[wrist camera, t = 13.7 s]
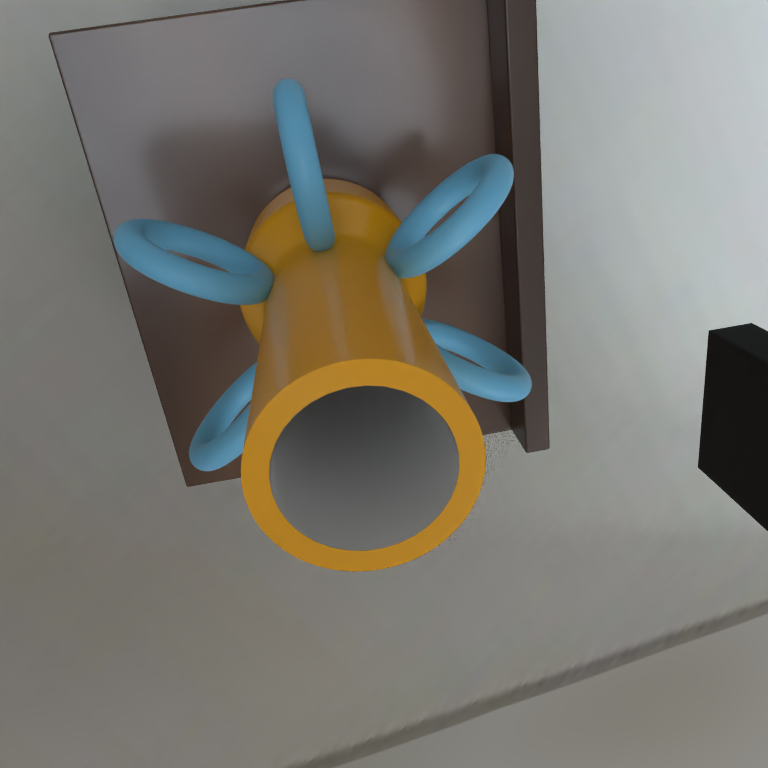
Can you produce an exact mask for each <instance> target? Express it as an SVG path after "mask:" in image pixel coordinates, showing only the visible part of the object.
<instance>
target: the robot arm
mask: <svg viewBox="0 0 768 768" xmlns="http://www.w3.org/2000/svg"><path fill="white" fill-rule="evenodd" d="M698 468H699V469H700V470H702V471H703V472H704V473H705V474H706V475H707V476H708V477H709V478H710V479H711V480H712V481H714V482H715V483H716V484H717V485H718V486H719V487H720V488H721V489H722V490H723V491H724V492H726V493H727V494H728V495H729V496H730V497H731V498H732V499H733V500H734V501H735V502H736V503H738V504H739V505H740V506H741V507H742V508H743V509H744V510H745V511H746V512H747V513H748V514H750V515H751V516H752V517H753V518H754V519H755V520H756V521H757V522H758V523H759V524H760V525H762V526H763V527H764V528H765V529H766V530H767V531H768V331H766V330H764V329H762V328H760V327H758V326H756V325H754V324H752V323H750V324H744V325H738V326H733V327H727V328H721V329H716V330H710V331H709V335H708V348H707V360H706V373H705V385H704V398H703V411H702V423H701V436H700V448H699V461H698Z"/></svg>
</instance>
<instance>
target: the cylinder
mask: <svg viewBox="0 0 768 768" xmlns="http://www.w3.org/2000/svg"><path fill="white" fill-rule="evenodd" d="M273 104H274V110H275V116H276V121H277V126H278V131H279V136H280V141H281V145H282V150H283V155H284V159H285V164H286V168H287V172H288V177H289V181H290V185H291V188H289V189H287V190H285V191H283V192H282V193H280V194H279V195H278V196H276V197H275V198H274V199H273V200H272V201H271V202H270V203H269V204H268V205H267V206H266V207H265V208H264V210H263V211H262V212H261V214H260V215H259V217H258V218H257V220H256V222H255V224H254V226H253V228H252V230H251V232H250V235H249V238H248V241H247V244H246V246H245V249H242V248H240V247H238V246H236V245H234V244H232V243H230V242H228V241H225V240H223V239H221V238H218V237H216V236H213V235H211V234H208V233H205V232H202V231H199V230H196V229H193V228H190V227H187V226H183V225H179V224H175V223H171V222H166V221H161V220H153V219H133V220H129V221H126V222H124V223H122V224H121V225H119V226H118V228H117V229H116V231H115V233H114V238H113V240H114V246H115V248H116V250H117V252H118V254H119V255H120V256H121V257H122V259H123V260H124V261H125V262H127V263H128V264H129V265H130V266H131V267H133V268H134V269H136V270H137V271H139V272H140V273H142V274H144V275H145V276H147V277H149V278H151V279H153V280H155V281H157V282H159V283H161V284H163V285H166V286H168V287H170V288H173V289H175V290H178V291H181V292H184V293H187V294H190V295H193V296H196V297H199V298H203V299H207V300H211V301H216V302H221V303H227V304H235V305H240V307H241V311H242V314H243V317H244V319H245V322H246V324H247V326H248V328H249V330H250V331H251V333H252V335H253V336H254V338H255V339H256V340H257V342H258V343H259V344H260V346H259V352H258V359H257V362H256V363H255V364H253V365H252V366H251V367H250V368H249V369H247V370H246V371H245V372H244V373H243V374H242V375H241V376H240V377H239V378H238V379H237V380H236V381H235V382H234V383H233V384H232V385H231V386H230V387H229V388H228V389H227V390H226V391H225V392H224V394H223V395H222V396H221V397H220V398H219V399H218V401H217V402H216V403H215V404H214V406H213V407H212V408H211V410H210V411H209V412H208V414H207V415H206V417H205V418H204V419H203V421H202V423H201V424H200V426H199V427H198V429H197V431H196V433H195V435H194V437H193V439H192V442H191V445H190V449H189V458H190V461H191V463H192V464H193V466H194V467H196V468H197V469H199V470H202V471H213V470H216V469H219V468H221V467H223V466H225V465H227V464H228V463H230V462H231V461H233V460H234V459H235V458H237V457H238V456H239V455H240V454H242V453H243V454H242V461H241V482H242V488H243V493H244V497H245V500H246V503H247V505H248V508H249V510H250V512H251V514H252V516H253V518H254V519H255V521H256V522H257V524H258V525H259V527H260V528H261V529H262V530H263V532H264V533H265V534H266V535H267V536H268V537H269V538H270V539H271V540H272V541H273V542H274V543H275V544H277V545H278V546H279V547H281V548H282V549H283V550H285V551H286V552H288V553H289V554H291V555H293V556H295V557H297V558H299V559H301V560H303V561H305V562H308V563H310V564H313V565H316V566H320V567H324V568H328V569H333V570H340V571H372V570H379V569H385V568H389V567H393V566H397V565H400V564H403V563H406V562H408V561H411V560H413V559H415V558H417V557H420V556H421V555H423V554H425V553H427V552H429V551H430V550H432V549H433V548H435V547H436V546H438V545H439V544H441V543H442V542H443V541H444V540H446V539H447V538H448V537H449V536H450V535H451V534H452V533H453V532H454V531H455V530H456V529H457V528H458V527H459V526H460V525H461V523H462V522H463V521H464V520H465V518H466V517H467V516H468V514H469V512H470V511H471V509H472V507H473V506H474V504H475V502H476V500H477V498H478V495H479V493H480V490H481V487H482V483H483V479H484V474H485V465H486V453H485V444H484V439H483V435H482V431H481V429H480V426H479V423H478V421H477V419H476V417H475V415H474V413H473V412H472V410H471V408H470V406H469V404H468V402H467V401H466V399H465V397H464V395H463V393H462V391H461V390H463V391H466V392H468V393H471V394H474V395H476V396H479V397H483V398H486V399H490V400H494V401H500V402H516V401H519V400H522V399H524V398H525V397H526V396H527V395H528V394H529V392H530V390H531V387H532V381H531V377H530V375H529V373H528V372H527V370H526V369H525V368H524V367H523V366H522V365H521V364H520V363H519V362H518V361H517V360H515V359H514V358H513V357H511V356H510V355H509V354H507V353H506V352H504V351H503V350H501V349H499V348H498V347H496V346H494V345H492V344H491V343H489V342H487V341H485V340H483V339H481V338H479V337H477V336H475V335H473V334H471V333H468V332H466V331H464V330H461V329H459V328H456V327H453V326H451V325H448V324H444V323H441V322H438V321H433V320H428V319H422V318H421V315H422V312H423V308H424V304H425V299H426V289H427V282H426V272H428V271H430V270H431V269H433V268H435V267H437V266H438V265H440V264H441V263H443V262H444V261H446V260H447V259H448V258H450V257H451V256H452V255H454V254H455V253H456V252H458V251H459V250H460V249H461V248H462V247H464V246H465V245H466V244H467V243H468V242H469V241H470V240H471V239H472V238H473V237H474V236H476V235H477V234H478V233H479V232H480V230H481V229H482V228H483V227H484V226H485V225H486V224H487V223H488V222H489V221H490V220H491V218H492V217H493V216H494V215H495V213H496V212H497V211H498V209H499V208H500V207H501V205H502V204H503V202H504V201H505V199H506V197H507V195H508V194H509V191H510V189H511V187H512V184H513V179H514V170H513V166H512V164H511V162H510V161H509V160H508V159H507V158H506V157H504V156H502V155H499V154H489V155H485V156H482V157H479V158H477V159H475V160H473V161H471V162H469V163H468V164H466V165H464V166H463V167H461V168H460V169H458V170H457V171H456V172H454V173H453V174H451V175H450V176H449V177H448V178H446V179H445V180H444V181H443V182H441V183H440V184H439V185H438V186H437V187H436V188H434V189H433V190H432V191H431V192H430V193H429V194H428V195H427V196H426V197H425V198H424V199H423V200H422V201H421V202H420V203H419V204H418V205H417V206H416V207H415V208H414V209H413V210H412V211H411V212H410V214H409V215H408V216H407V217H406V218H405V220H404V221H403V222H402V221H401V220H400V219H399V218H398V217H397V215H396V214H395V213H394V212H393V210H392V209H391V208H390V207H389V206H388V205H387V204H386V203H385V202H384V201H383V200H382V199H381V198H379V197H378V196H377V195H376V194H374V193H373V192H371V191H369V190H368V189H366V188H364V187H362V186H360V185H357V184H354V183H351V182H348V181H344V180H337V179H323V176H322V172H321V167H320V163H319V158H318V153H317V149H316V144H315V139H314V135H313V130H312V125H311V121H310V116H309V112H308V107H307V102H306V98H305V93H304V90H303V88H302V86H301V85H300V84H299V83H298V82H297V81H295V80H293V79H289V78H287V79H283V80H281V81H279V82H278V83H277V84H276V86H275V87H274V90H273ZM470 194H471V195H470ZM469 195H470V196H469ZM467 196H469V197H468V198H467V199H466V200H465V202H464V203H463V204H462V205H461V206H460V207H459V208H458V209H457V210H456V211H455V212H454V213H453V214H452V215H451V216H450V217H449V218H448V219H447V220H446V221H444V222H443V223H442V224H441V225H440V226H439V227H438V228H436V229H435V230H434V231H433V232H431V233H430V234H429V235H427V236H426V237H425V235H426V234H427V233H428V232H429V231H430V230H431V228H432V227H433V226H434V225H435V224H436V223H437V222H438V221H439V220H440V219H441V218H442V217H443V216H444V215H445V214H446V213H447V212H449V211H450V210H451V209H452V208H453V207H454V206H456V205H457V204H458V203H459V202H461V201H462V200H463V199H465V198H466V197H467ZM424 237H425V238H424ZM166 250H170V251H174V252H178V253H182V254H186V255H189V256H192V257H195V258H198V259H201V260H204V261H207V262H209V263H212V264H214V265H216V266H218V267H221V268H223V269H225V270H227V271H229V272H225V271H221V270H217V269H213V268H210V267H206V266H203V265H200V264H197V263H195V262H192V261H189V260H187V259H184V258H182V257H179V256H177V255H175V254H173V253H170V252H168V251H166ZM445 349H446V350H445ZM447 350H449V351H451V352H454V353H456V354H459V355H461V356H463V357H465V358H467V359H469V360H471V361H473V362H475V363H477V364H479V365H480V366H482V367H484V368H482V367H479V366H477V365H475V364H472V363H470V362H468V361H466V360H463V359H461V358H459V357H457V356H456V355H454V354H452V353H450V352H448V351H447ZM460 389H461V390H460ZM250 400H251V403H250V404H249V405H248V406H247V408H246V409H245V410H244V411H243V412H242V413H241V414H240V416H239V417H238V418H237V419H236V420H235V421H234V422H233V423H232V421H233V420H234V419H235V417H236V416H237V415H238V414H239V413H240V411H241V410H242V409H243V408H244V407H245V406H246V404H247V403H248V402H249V401H250ZM231 423H232V424H231ZM230 424H231V425H230Z"/></svg>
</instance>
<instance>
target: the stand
mask: <svg viewBox="0 0 768 768" xmlns="http://www.w3.org/2000/svg"><path fill="white" fill-rule="evenodd" d="M49 39H50V43H51V46H52V49H53V52H54V56H55V59H56V62H57V65H58V69H59V72H60V75H61V78H62V82H63V85H64V88H65V91H66V95H67V98H68V101H69V104H70V108H71V111H72V114H73V117H74V121H75V124H76V127H77V130H78V134H79V137H80V140H81V144H82V147H83V150H84V153H85V157H86V160H87V163H88V166H89V170H90V173H91V176H92V179H93V183H94V186H95V189H96V192H97V196H98V199H99V202H100V205H101V209H102V212H103V215H104V218H105V222H106V225H107V228H108V231H109V235H110V238H111V241H112V245H113V248H114V251H115V254H116V258H117V261H118V264H119V267H120V271H121V274H122V277H123V280H124V284H125V287H126V290H127V293H128V297H129V300H130V303H131V306H132V310H133V313H134V316H135V319H136V323H137V326H138V329H139V332H140V336H141V339H142V342H143V345H144V349H145V352H146V355H147V359H148V362H149V365H150V368H151V372H152V375H153V378H154V381H155V385H156V388H157V391H158V394H159V398H160V401H161V404H162V407H163V411H164V414H165V417H166V420H167V424H168V427H169V430H170V433H171V437H172V440H173V443H174V446H175V450H176V453H177V456H178V460H179V463H180V466H181V469H182V473H183V476H184V479H185V482H186V485H187V486H188V487H189V486H195V485H201V484H206V483H212V482H218V481H223V480H229V479H235V478H241V461H242V454H243V453H242V454H240V455H239V456H238V457H237V458H235V459H234V460H233V461H231V462H230V463H228V464H227V465H225V466H223V467H221V468H219V469H216V470H213V471H202V470H199V469H197V468H196V467H194V466H193V464H192V463H191V461H190V458H189V449H190V445H191V442H192V439H193V437H194V435H195V433H196V431H197V429H198V427H199V426H200V424H201V423H202V421H203V419H204V418H205V417H206V415H207V414H208V412H209V411H210V410H211V408H212V407H213V406H214V404H215V403H216V402H217V401H218V399H219V398H220V397H221V396H222V395H223V394H224V392H225V391H226V390H227V389H228V388H229V387H230V386H231V385H232V384H233V383H234V382H235V381H236V380H237V379H238V378H239V377H240V376H241V375H242V374H243V373H244V372H245V371H246V370H247V369H249V368H250V367H251V366H252V365H253V364H255V363H256V362H257V359H258V352H259V346H260V344H259V343H258V342H257V340H256V339H255V338H254V336H253V335H252V333H251V331H250V330H249V328H248V326H247V324H246V322H245V319H244V317H243V314H242V311H241V307H240V305H235V304H227V303H221V302H216V301H211V300H207V299H203V298H199V297H196V296H193V295H190V294H187V293H184V292H181V291H178V290H175V289H173V288H170V287H168V286H166V285H163V284H161V283H159V282H157V281H155V280H153V279H151V278H149V277H147V276H145V275H144V274H142V273H140V272H139V271H137V270H136V269H134V268H133V267H131V266H130V265H129V264H128V263H127V262H125V261H124V260H123V259H122V257H121V256H120V255H119V254H118V252H117V250H116V248H115V246H114V240H113V238H114V233H115V231H116V229H117V228H118V226H119V225H121V224H122V223H124V222H126V221H129V220H133V219H153V220H161V221H166V222H171V223H175V224H179V225H183V226H187V227H190V228H193V229H196V230H199V231H202V232H205V233H208V234H211V235H213V236H216V237H218V238H221V239H223V240H225V241H228V242H230V243H232V244H234V245H236V246H238V247H240V248H242V249H245V246H246V244H247V241H248V238H249V235H250V232H251V230H252V228H253V226H254V224H255V222H256V220H257V218H258V217H259V215H260V214H261V212H262V211H263V210H264V208H265V207H266V206H267V205H268V204H269V203H270V202H271V201H272V200H273V199H274V198H275V197H276V196H278V195H279V194H280V193H282V192H283V191H285V190H287V189H289V188H291V185H290V181H289V177H288V172H287V168H286V164H285V159H284V155H283V150H282V145H281V141H280V136H279V131H278V126H277V121H276V116H275V110H274V104H273V90H274V87H275V86H276V84H277V83H278V82H279V81H281V80H283V79H287V78H289V79H293V80H295V81H297V82H298V83H299V84H300V85H301V86H302V88H303V90H304V93H305V98H306V102H307V107H308V112H309V116H310V121H311V125H312V130H313V135H314V139H315V144H316V149H317V153H318V158H319V163H320V167H321V172H322V176H323V179H337V180H344V181H348V182H351V183H354V184H357V185H360V186H362V187H364V188H366V189H368V190H369V191H371V192H373V193H374V194H376V195H377V196H378V197H379V198H381V199H382V200H383V201H384V202H385V203H386V204H387V205H388V206H389V207H390V208H391V209H392V210H393V212H394V213H395V214H396V215H397V217H398V218H399V219H400V220H401V221H402V222H403V221H404V220H405V218H406V217H407V216H408V215H409V214H410V212H411V211H412V210H413V209H414V208H415V207H416V206H417V205H418V204H419V203H420V202H421V201H422V200H423V199H424V198H425V197H426V196H427V195H428V194H429V193H430V192H431V191H432V190H433V189H434V188H436V187H437V186H438V185H439V184H440V183H441V182H443V181H444V180H445V179H446V178H448V177H449V176H450V175H451V174H453V173H454V172H456V171H457V170H458V169H460V168H461V167H463V166H464V165H466V164H468V163H469V162H471V161H473V160H475V159H477V158H479V157H482V156H485V155H489V154H499V155H502V156H504V157H506V158H507V159H508V160H509V161H510V162H511V164H512V166H513V170H514V179H513V184H512V187H511V189H510V191H509V194H508V195H507V197H506V199H505V201H504V202H503V204H502V205H501V207H500V208H499V209H498V211H497V212H496V213H495V215H494V216H493V217H492V218H491V220H490V221H489V222H488V223H487V224H486V225H485V226H484V227H483V228H482V229H481V230H480V232H479V233H478V234H477V235H476V236H474V237H473V238H472V239H471V240H470V241H469V242H468V243H467V244H466V245H465V246H464V247H462V248H461V249H460V250H459V251H458V252H456V253H455V254H454V255H452V256H451V257H450V258H448V259H447V260H446V261H444V262H443V263H441V264H440V265H438V266H437V267H435V268H433V269H431V270H430V271H428V272H426V282H427V289H426V299H425V304H424V308H423V312H422V315H421V318H422V319H428V320H433V321H438V322H441V323H444V324H448V325H451V326H453V327H456V328H459V329H461V330H464V331H466V332H468V333H471V334H473V335H475V336H477V337H479V338H481V339H483V340H485V341H487V342H489V343H491V344H492V345H494V346H496V347H498V348H499V349H501V350H503V351H504V352H506V353H507V354H509V355H510V356H511V357H513V358H514V359H515V360H517V361H518V362H519V363H520V364H521V365H522V366H523V367H524V368H525V369H526V370H527V372H528V373H529V375H530V377H531V381H532V387H531V390H530V392H529V394H528V395H527V396H526V397H525V398H524V399H522V400H519V401H516V402H500V401H494V400H490V399H486V398H483V397H479V396H476V395H474V394H471V393H468V392H466V391H463V390H461V389H460V390H461V391H462V393H463V395H464V397H465V399H466V401H467V402H468V404H469V406H470V408H471V410H472V412H473V413H474V415H475V417H476V419H477V421H478V423H479V426H480V429H481V431H482V435H485V434H490V433H496V432H502V431H507V430H512V431H513V432H514V434H515V435H516V437H517V439H518V440H519V442H520V443H521V445H522V447H523V448H524V450H525V451H526V452H527V453H529V452H534V451H540V450H546V449H549V414H548V380H547V347H546V314H545V281H544V248H543V215H542V182H541V149H540V116H539V83H538V50H537V16H536V0H284V1H277V2H270V3H263V4H255V5H248V6H241V7H234V8H226V9H219V10H212V11H204V12H197V13H190V14H183V15H175V16H168V17H161V18H154V19H146V20H139V21H132V22H125V23H117V24H110V25H103V26H96V27H88V28H81V29H74V30H67V31H59V32H52V33H49ZM470 195H471V194H470ZM470 195H469V196H470ZM469 196H467V197H466V198H465V199H463V200H462V201H461V202H459V203H458V204H457V205H456V206H454V207H453V208H452V209H451V210H450V211H449V212H447V213H446V214H445V215H444V216H443V217H442V218H441V219H440V220H439V221H438V222H437V223H436V224H435V225H434V226H433V227H432V228H431V230H430V231H429V232H428V233H427V234H426V235H425V237H426V236H427V235H429V234H430V233H431V232H433V231H434V230H435V229H436V228H438V227H439V226H440V225H441V224H442V223H443V222H444V221H446V220H447V219H448V218H449V217H450V216H451V215H452V214H453V213H454V212H455V211H456V210H457V209H458V208H459V207H460V206H461V205H462V204H463V203H464V202H465V200H466V199H467V198H468V197H469ZM425 237H424V238H425ZM166 251H168V252H170V253H173V254H175V255H177V256H179V257H182V258H184V259H187V260H189V261H192V262H195V263H197V264H200V265H203V266H206V267H210V268H213V269H217V270H221V271H225V272H229V271H227V270H225V269H223V268H221V267H218V266H216V265H214V264H212V263H209V262H207V261H204V260H201V259H198V258H195V257H192V256H189V255H186V254H182V253H178V252H174V251H170V250H166ZM445 350H446V349H445ZM447 351H448V352H450V353H452V354H454V355H456V356H457V357H459V358H461V359H463V360H466V361H468V362H470V363H472V364H475V365H477V366H479V367H482V366H480V365H479V364H477V363H475V362H473V361H471V360H469V359H467V358H465V357H463V356H461V355H459V354H456V353H454V352H451V351H449V350H447ZM482 368H484V367H482ZM250 403H251V400H250V401H249V402H248V403H247V404H246V406H245V407H244V408H243V409H242V410H241V411H240V413H239V414H238V415H237V416H236V417H235V419H234V420H233V421H232V423H233V422H234V421H235V420H236V419H237V418H238V417H239V416H240V414H241V413H242V412H243V411H244V410H245V409H246V408H247V406H248V405H249V404H250ZM232 423H231V424H232ZM231 424H230V425H231Z"/></svg>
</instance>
